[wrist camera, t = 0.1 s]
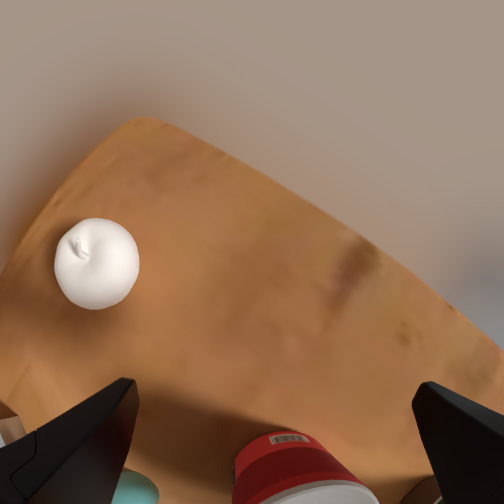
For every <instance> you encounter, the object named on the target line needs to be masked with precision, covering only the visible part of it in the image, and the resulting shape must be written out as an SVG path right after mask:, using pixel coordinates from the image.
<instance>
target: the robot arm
mask: <svg viewBox="0 0 504 504" xmlns="http://www.w3.org/2000/svg"><path fill="white" fill-rule="evenodd" d="M138 408H139V395H138V390H137V384H136V381H135V380H134V379H130V378H125V377H121V378H119V379H118V380H116V381H114V382H113V383H111V384H110V385H108V386H107V387H105V388H103V389H102V390H100V391H99V392H97V393H95V394H94V395H92V396H91V397H89V398H87V399H86V400H84V401H83V402H81V403H79V404H78V405H76V406H74V407H73V408H71V409H70V410H68V411H66V412H65V413H63V414H61V415H60V416H58V417H56V418H55V419H53V420H51V421H50V422H48V423H46V424H44V425H43V426H41V427H39V428H38V429H36V431H35V430H34V431H32V432H31V433H29V434H27V435H25V436H23V437H22V438H20V439H18V440H16V441H14V442H12V443H10V444H8V445H5V446H3V447H1V448H0V504H111V503H112V500H113V497H114V493H115V490H116V487H117V484H118V481H119V478H120V475H121V472H122V469H123V466H124V463H125V460H126V458H127V455H128V452H129V448H130V445H131V440H132V435H133V431H134V426H135V422H136V417H137V413H138ZM412 409H413V412H414V416H415V419H416V422H417V426H418V429H419V433H420V437H421V440H422V443H423V446H424V448H425V451H426V453H427V456H428V459H429V461H430V464H431V467H432V470H433V472H434V475H435V478H436V481H437V484H438V487H439V490H440V493H441V496H442V499H443V502H444V504H504V415H501V414H499V413H497V412H495V411H493V410H491V409H488V408H486V407H484V406H482V405H480V404H478V403H476V402H474V401H472V400H470V399H467V398H465V397H463V396H461V395H459V394H457V393H455V392H453V391H451V390H449V389H447V388H445V387H443V386H441V385H439V384H437V383H435V382H433V381H428V382H423V383H422V384H421V385H420V386H419V388H418V390H417V392H416V394H415V396H414V398H413V400H412Z"/></svg>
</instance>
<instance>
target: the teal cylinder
mask: <svg viewBox="0 0 504 504" xmlns="http://www.w3.org/2000/svg"><path fill="white" fill-rule="evenodd" d="M158 500H159V491H158V489H157V487H156V486H155V484H154V483H153V482H152V481H151V480H150V479H148V478H147V477H145V476H144V475H142V474H139V473H136V472H132V471H123V472H121V475H120V478H119V481H118V484H117V487H116V490H115V493H114V497H113V500H112V503H111V504H157V502H158Z"/></svg>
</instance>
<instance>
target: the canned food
mask: <svg viewBox="0 0 504 504" xmlns="http://www.w3.org/2000/svg"><path fill="white" fill-rule="evenodd" d="M232 504H379V502H378V500H377V499H376V497H375V496H374V495H373V493H372V492H371V491H370V490H369V489H368V488H367V487H366V486H365V485H364V484H363V483H362V482H361V481H359V480H358V479H357V478H356V477H355V476H354V475H353V474H352V473H350V472H349V471H348V470H347V469H346V468H345V467H344V466H343V465H342V464H341V463H340V462H338V461H337V460H336V459H335V458H334V457H333V456H332V455H331V454H330V453H329V452H328V451H327V450H326V449H325V448H324V447H323V446H322V445H321V444H320V443H319V442H318V441H317V440H315V439H314V438H312V437H310V436H309V435H306V434H303V433H299V432H293V431H278V432H271V433H268V434H265V435H262V436H260V437H258V438H256V439H254V440H253V441H251V442H250V443H248V444H247V445H246V446H245V447H244V448H243V449H242V450H241V451H240V452H239V454H238V455H237V457H236V458H235V461H234V463H233V465H232Z"/></svg>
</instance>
